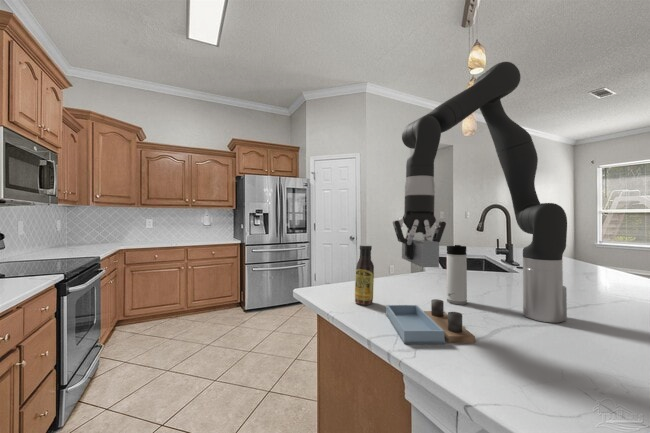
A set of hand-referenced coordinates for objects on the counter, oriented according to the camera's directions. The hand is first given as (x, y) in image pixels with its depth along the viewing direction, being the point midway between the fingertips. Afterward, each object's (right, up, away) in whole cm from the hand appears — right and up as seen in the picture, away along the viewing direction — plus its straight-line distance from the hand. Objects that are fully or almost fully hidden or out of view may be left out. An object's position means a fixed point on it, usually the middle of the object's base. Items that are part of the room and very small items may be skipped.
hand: (418, 259), depth 75 cm
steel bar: (0, -1, 0) cm, 1 cm away
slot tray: (-2, -18, 0) cm, 18 cm away
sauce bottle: (-11, -19, +22) cm, 31 cm away
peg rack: (+7, -18, 0) cm, 19 cm away
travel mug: (+21, -19, +23) cm, 36 cm away
